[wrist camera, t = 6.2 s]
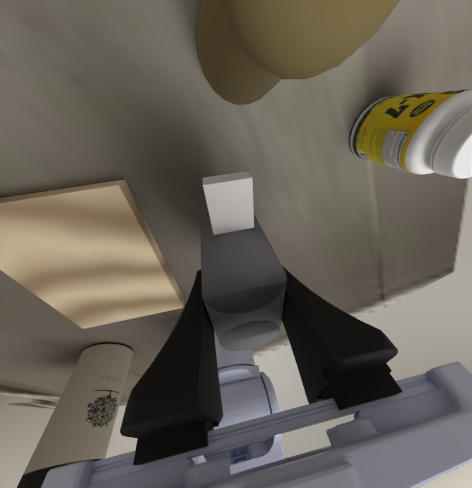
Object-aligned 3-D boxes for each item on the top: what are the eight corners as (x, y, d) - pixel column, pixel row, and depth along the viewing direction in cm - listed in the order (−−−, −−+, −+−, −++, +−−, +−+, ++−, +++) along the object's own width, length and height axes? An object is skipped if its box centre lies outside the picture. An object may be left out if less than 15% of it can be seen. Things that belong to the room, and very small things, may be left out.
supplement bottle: (406, 86, 14) (583, 63, 8) (392, 146, 17) (512, 167, 11) (350, 110, 15) (473, 108, 8) (346, 165, 18) (433, 196, 11)
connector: (259, 288, 16) (278, 343, 12) (217, 296, 16) (224, 355, 12) (256, 158, 9) (298, 191, 5) (182, 169, 9) (170, 213, 5)
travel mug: (104, 364, 34) (39, 540, 20) (71, 350, 29) (-48, 571, 15) (142, 353, 34) (102, 522, 20) (115, 337, 29) (36, 548, 15)
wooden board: (184, 298, 26) (183, 307, 25) (88, 318, 25) (83, 328, 24) (124, 179, 15) (118, 185, 14) (-54, 206, 14) (-77, 215, 13)
